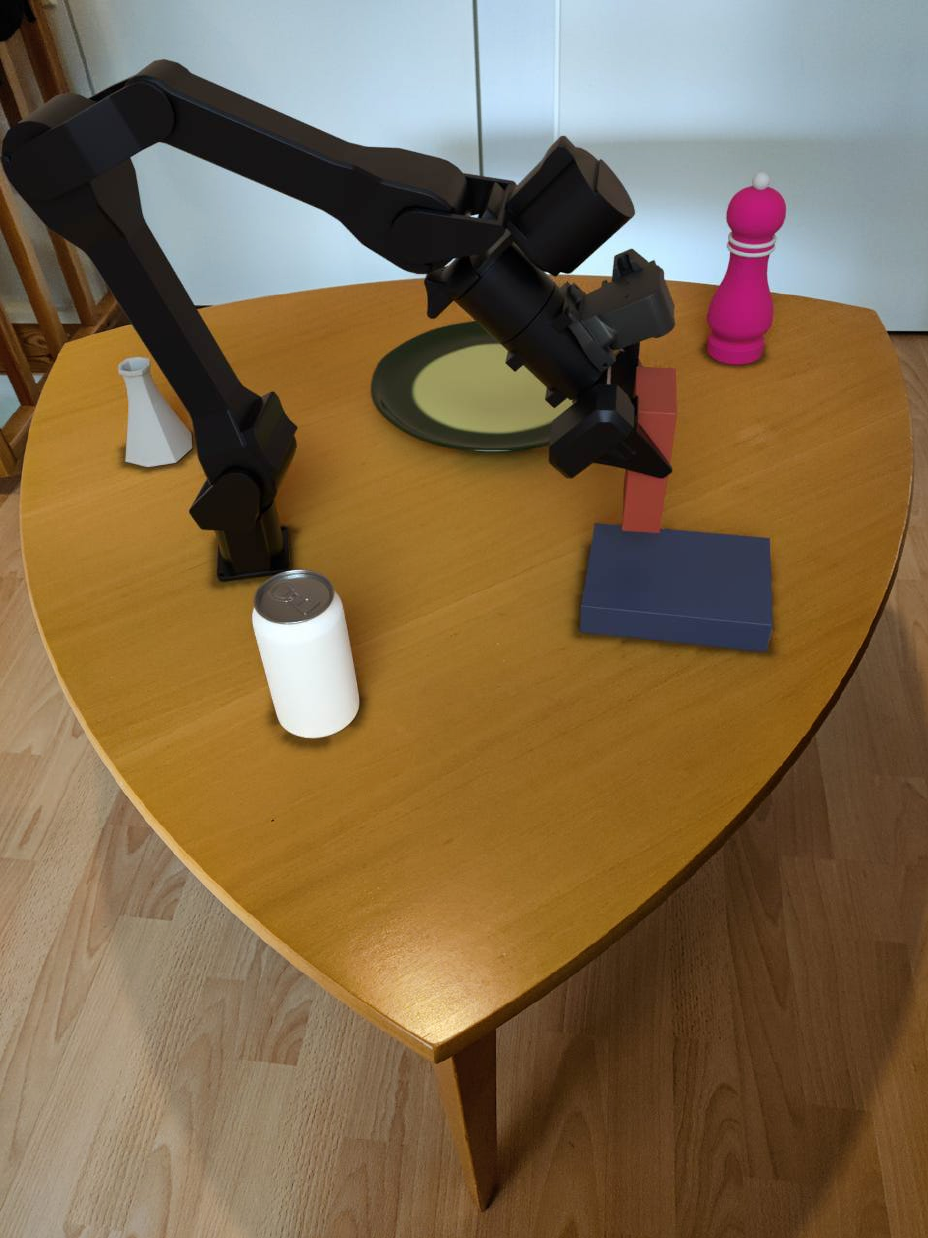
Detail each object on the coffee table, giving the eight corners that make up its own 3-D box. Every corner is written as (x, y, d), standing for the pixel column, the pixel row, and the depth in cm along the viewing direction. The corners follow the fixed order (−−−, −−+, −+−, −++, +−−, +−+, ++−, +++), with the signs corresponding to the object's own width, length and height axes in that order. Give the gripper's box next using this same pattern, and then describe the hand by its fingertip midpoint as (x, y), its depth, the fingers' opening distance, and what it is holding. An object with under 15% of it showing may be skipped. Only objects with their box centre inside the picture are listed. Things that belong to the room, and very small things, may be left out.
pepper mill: (689, 345, 116) (711, 167, 102) (741, 331, 118) (769, 154, 104) (726, 373, 111) (755, 190, 97) (779, 357, 113) (814, 176, 99)
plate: (337, 454, 103) (334, 434, 101) (411, 327, 122) (409, 308, 121) (608, 482, 97) (609, 461, 96) (640, 344, 117) (642, 324, 115)
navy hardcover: (579, 632, 82) (580, 605, 80) (593, 548, 90) (594, 522, 88) (767, 652, 80) (773, 625, 78) (764, 564, 88) (770, 537, 85)
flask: (202, 431, 107) (180, 346, 101) (182, 470, 102) (157, 383, 95) (138, 430, 108) (111, 345, 101) (114, 468, 103) (85, 382, 96)
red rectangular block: (621, 530, 80) (635, 411, 72) (623, 482, 84) (636, 366, 77) (659, 533, 79) (677, 413, 72) (659, 485, 84) (675, 368, 76)
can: (319, 667, 81) (295, 553, 73) (377, 703, 78) (359, 588, 69) (260, 715, 77) (227, 601, 69) (318, 755, 74) (292, 641, 66)
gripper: (606, 298, 60) (764, 459, 66) (615, 183, 73) (745, 326, 80) (480, 407, 66) (635, 544, 73) (509, 283, 80) (638, 408, 86)
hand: (667, 448), depth 78 cm, fingers closed on red rectangular block, 6 cm apart
